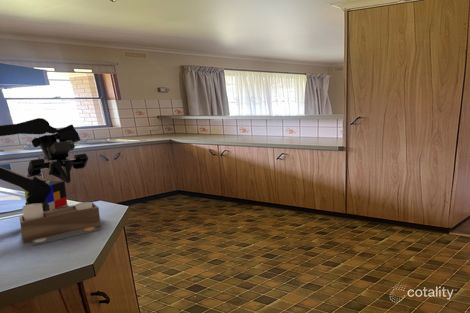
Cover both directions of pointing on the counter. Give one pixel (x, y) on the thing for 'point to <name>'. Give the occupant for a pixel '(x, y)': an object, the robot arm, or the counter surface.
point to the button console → (59, 222)
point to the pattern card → (63, 235)
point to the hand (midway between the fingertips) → (69, 182)
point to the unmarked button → (33, 211)
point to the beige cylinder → (83, 206)
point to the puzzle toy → (56, 194)
